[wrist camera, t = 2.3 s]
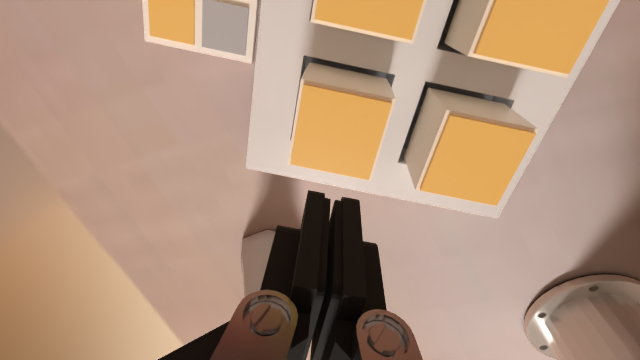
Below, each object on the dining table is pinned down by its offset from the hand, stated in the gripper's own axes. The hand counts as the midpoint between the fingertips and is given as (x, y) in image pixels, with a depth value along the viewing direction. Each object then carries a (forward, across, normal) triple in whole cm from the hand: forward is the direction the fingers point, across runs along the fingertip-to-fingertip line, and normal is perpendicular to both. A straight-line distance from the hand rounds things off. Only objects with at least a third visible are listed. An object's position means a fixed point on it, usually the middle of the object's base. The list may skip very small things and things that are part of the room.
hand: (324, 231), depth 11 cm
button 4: (+14, -1, 0) cm, 14 cm away
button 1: (+14, -9, -8) cm, 18 cm away
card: (+18, +10, -5) cm, 21 cm away
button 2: (+14, -9, 0) cm, 16 cm away
